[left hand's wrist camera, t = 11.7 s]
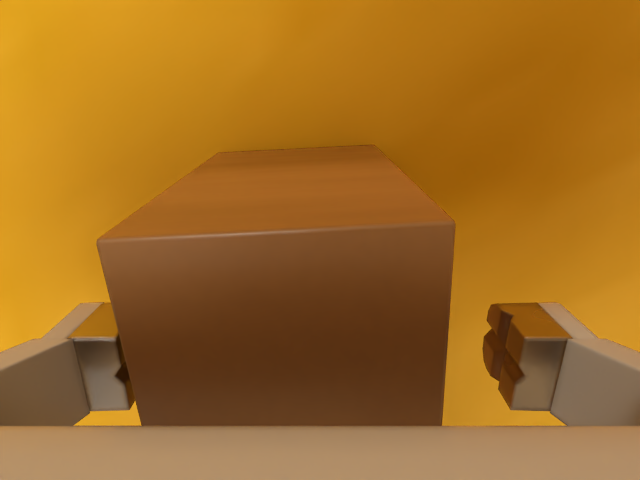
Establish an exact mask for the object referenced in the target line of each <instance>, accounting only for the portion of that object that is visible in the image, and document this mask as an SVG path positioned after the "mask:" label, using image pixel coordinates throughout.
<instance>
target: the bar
mask: <svg viewBox="0 0 640 480" xmlns="http://www.w3.org/2000/svg"><path fill="white" fill-rule="evenodd" d="M454 239H455V222H454V220H453V219H452V218H451V217H450V216H449V215H448V214H447V213H445V212H444V211H443V210H442V209H441V208H440V207H439V206H438V205H437V204H436V203H435V202H434V201H433V200H432V199H431V198H430V197H429V196H428V195H426V194H425V193H424V192H423V191H422V190H421V189H420V188H419V187H418V186H417V185H416V184H415V183H414V182H413V181H412V180H411V179H410V178H409V177H408V176H406V175H405V174H404V173H403V172H402V171H401V170H400V169H399V168H398V167H397V166H396V165H395V164H394V163H393V162H392V161H391V160H390V159H389V158H388V157H386V156H385V155H384V154H383V153H382V152H381V151H380V150H379V149H378V148H377V147H376V146H375V145H359V146H339V147H320V148H300V149H281V150H261V151H242V152H222V153H217V154H215V155H214V156H213V157H211V158H210V159H208V160H207V161H206V162H204V163H203V164H201V165H200V166H199V167H197V168H196V169H195V170H193V171H192V172H190V173H189V174H188V175H186V176H185V177H183V178H182V179H181V180H179V181H178V182H176V183H175V184H174V185H172V186H171V187H169V188H168V189H167V190H165V191H164V192H162V193H161V194H160V195H158V196H157V197H155V198H154V199H153V200H151V201H150V202H148V203H147V204H146V205H144V206H143V207H142V208H140V209H139V210H137V211H136V212H135V213H133V214H132V215H130V216H129V217H128V218H126V219H125V220H123V221H122V222H121V223H119V224H118V225H116V226H115V227H114V228H112V229H111V230H109V231H108V232H107V233H105V234H104V235H102V236H101V237H100V238H98V239H97V248H98V252H99V256H100V260H101V264H102V268H103V272H104V276H105V280H106V284H107V288H108V292H109V296H110V300H111V304H112V308H113V312H114V316H115V320H116V324H117V328H118V332H119V336H120V340H121V345H122V349H123V353H124V357H125V361H126V365H127V369H128V373H129V377H130V381H131V385H132V389H133V393H134V397H135V401H136V405H137V409H138V413H139V417H140V421H141V425H142V426H442V417H443V402H444V387H445V373H446V358H447V343H448V328H449V313H450V299H451V284H452V269H453V254H454Z"/></svg>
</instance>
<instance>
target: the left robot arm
mask: <svg viewBox="0 0 640 480" xmlns="http://www.w3.org/2000/svg"><path fill="white" fill-rule="evenodd" d="M487 322H488V323H489V325H490V326H491V328H492V329H491V330H490V331H489V332H488V333H487V334H486V335H485V336H484V341H483V358H484V363H485V366H486V369H487V371H488V372H489V374H490V376H492V377H493V378H495V379H496V380H498V381H499V387H498V390H499V391H500V393H501V395H502V396H503V398H504V400H505V401H506V403H507V405H508V406H509V408H510V410H528V411H550V413H551V414H552V415H554V416H555V417H556V418H558V419H559V420H560V421H562V422H563V423H564V424H566V425H567V426H73V425H74V424H76V423H77V422H78V421H80V420H81V419H83V418H84V417H85V416H87V415H88V414H89V413H90V411H111V410H130V408H131V406H132V405H133V403H134V401H135V397H134V393H133V389H132V385H131V381H130V377H129V373H128V369H127V365H126V361H125V357H124V353H123V349H122V345H121V340H120V336H119V332H118V328H117V324H116V320H115V316H114V312H113V308H112V304H111V303H104V302H97V303H80V304H79V305H78V306H77V307H76V308H75V309H74V310H72V311H71V312H70V313H69V314H68V315H67V316H66V317H65V318H64V319H62V320H61V321H60V322H59V323H58V324H57V325H56V326H55V327H54V328H52V329H51V330H50V331H49V332H48V333H47V334H46V335H45V336H44V337H42V338H41V339H32V340H30V341H27V342H25V343H22V344H20V345H17V346H15V347H12V348H10V349H7V350H5V351H2V352H0V480H640V352H638V351H635V350H633V349H630V348H628V347H625V346H623V345H620V344H618V343H615V342H613V341H610V340H608V339H599V338H598V337H596V336H595V335H594V334H593V333H592V332H591V331H590V330H589V329H588V328H586V327H585V326H584V325H583V324H582V323H581V322H580V321H579V320H578V319H577V318H575V317H574V316H573V315H572V314H571V313H570V312H569V311H568V310H567V309H565V308H564V307H563V306H562V305H561V304H559V303H556V302H549V303H503V304H492V305H491V306H490V308H489V310H488V315H487Z"/></svg>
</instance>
